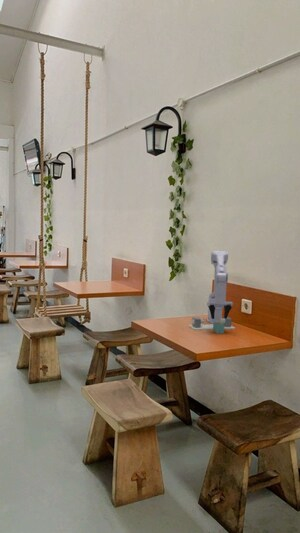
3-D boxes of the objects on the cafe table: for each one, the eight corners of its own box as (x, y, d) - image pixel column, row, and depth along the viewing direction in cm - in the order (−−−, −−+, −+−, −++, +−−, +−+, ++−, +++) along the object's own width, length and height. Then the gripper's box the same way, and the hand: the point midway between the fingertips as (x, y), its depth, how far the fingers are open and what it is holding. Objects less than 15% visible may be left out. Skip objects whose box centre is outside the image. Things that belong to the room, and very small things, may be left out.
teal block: (212, 330, 233) (213, 321, 233) (219, 330, 234) (220, 321, 234) (217, 333, 227) (217, 323, 227) (223, 333, 228) (224, 323, 228)
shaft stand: (188, 326, 241) (189, 316, 241) (228, 325, 247) (228, 316, 247) (194, 330, 232) (194, 320, 232) (234, 329, 239) (235, 319, 238)
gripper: (211, 295, 223) (209, 320, 224) (235, 295, 227) (234, 319, 228) (206, 293, 230) (204, 317, 231) (230, 293, 233) (228, 317, 235)
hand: (219, 318), depth 230 cm, fingers open, 7 cm apart
